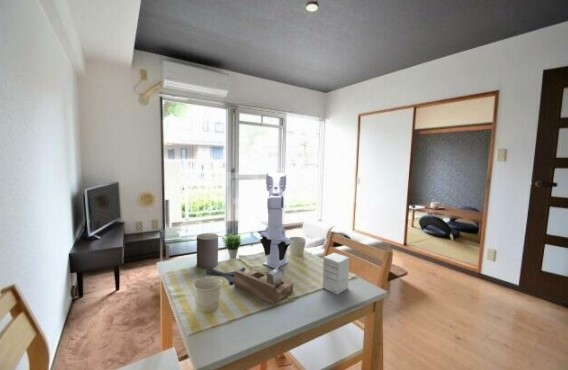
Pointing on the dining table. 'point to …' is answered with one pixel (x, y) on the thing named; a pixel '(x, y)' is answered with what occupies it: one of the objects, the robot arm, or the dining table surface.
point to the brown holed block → (261, 285)
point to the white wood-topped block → (275, 277)
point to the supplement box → (335, 273)
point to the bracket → (224, 274)
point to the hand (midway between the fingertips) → (274, 257)
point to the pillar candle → (207, 250)
